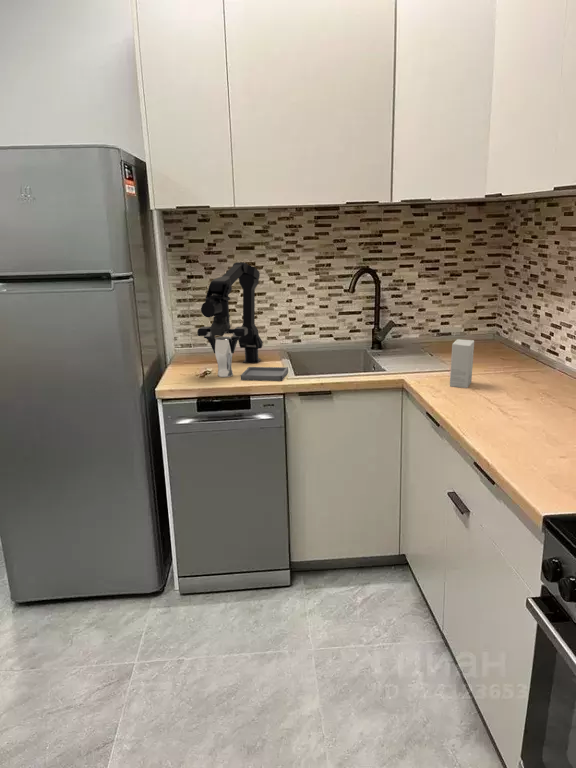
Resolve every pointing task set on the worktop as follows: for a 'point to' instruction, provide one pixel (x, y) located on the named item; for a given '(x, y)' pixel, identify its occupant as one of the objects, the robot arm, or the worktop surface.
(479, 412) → the worktop surface
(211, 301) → the robot arm
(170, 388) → the worktop surface
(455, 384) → the skincare box
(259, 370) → the drip tray
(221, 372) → the beer glass
